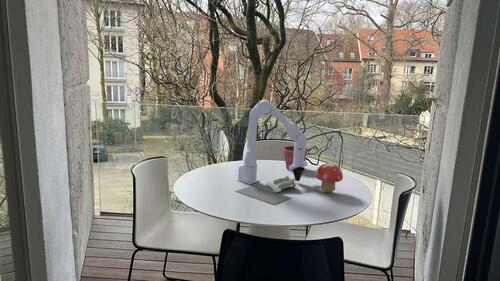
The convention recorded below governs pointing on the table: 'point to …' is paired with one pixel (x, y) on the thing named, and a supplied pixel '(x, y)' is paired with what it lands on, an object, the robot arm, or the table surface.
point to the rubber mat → (263, 194)
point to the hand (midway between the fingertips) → (297, 180)
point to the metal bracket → (281, 184)
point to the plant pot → (290, 155)
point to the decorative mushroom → (329, 176)
